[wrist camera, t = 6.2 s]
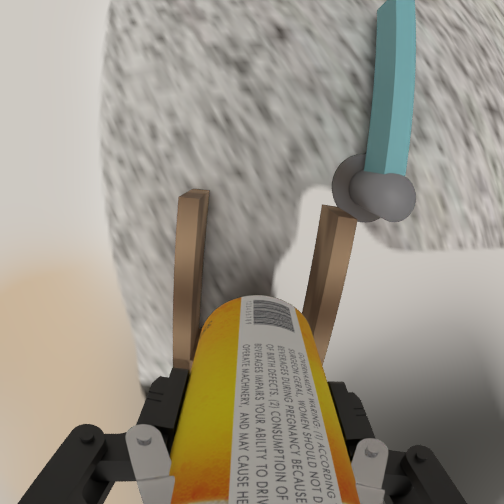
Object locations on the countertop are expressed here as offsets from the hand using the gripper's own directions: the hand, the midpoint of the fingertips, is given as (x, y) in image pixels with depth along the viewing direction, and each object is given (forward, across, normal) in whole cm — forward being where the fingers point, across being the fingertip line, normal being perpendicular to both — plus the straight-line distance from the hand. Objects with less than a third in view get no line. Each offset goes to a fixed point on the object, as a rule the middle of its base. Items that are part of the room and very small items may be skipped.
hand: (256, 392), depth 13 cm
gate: (+11, -7, -15) cm, 20 cm away
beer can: (+5, 0, 0) cm, 5 cm away
